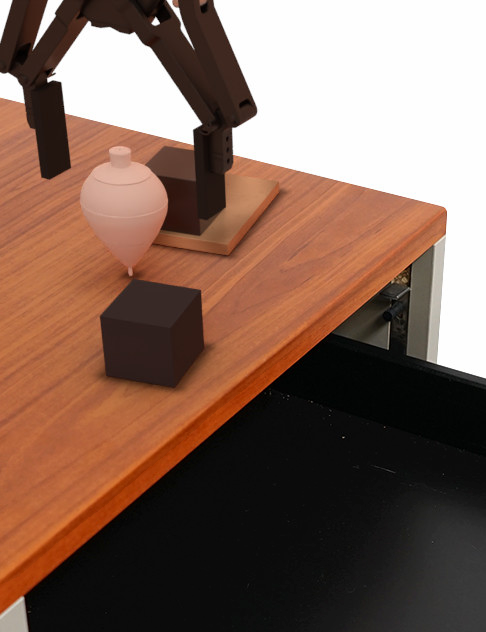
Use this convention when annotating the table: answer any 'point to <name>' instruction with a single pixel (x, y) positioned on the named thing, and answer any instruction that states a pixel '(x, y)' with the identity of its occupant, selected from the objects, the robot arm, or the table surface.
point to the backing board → (231, 218)
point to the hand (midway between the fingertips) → (132, 193)
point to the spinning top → (124, 206)
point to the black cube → (152, 332)
